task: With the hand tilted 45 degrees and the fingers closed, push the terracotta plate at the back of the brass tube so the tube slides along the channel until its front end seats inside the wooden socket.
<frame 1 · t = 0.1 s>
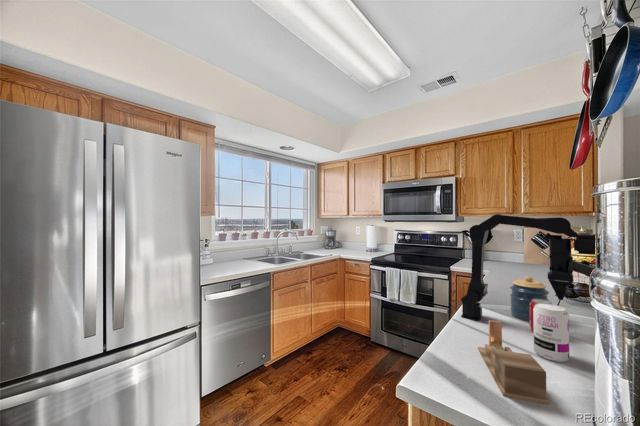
hand: (561, 296, 91), 15 cm above the table, tool pointing down, fingers open, 9 cm apart
supplement can: (551, 356, 80), on the table
slip tube: (501, 344, 75), point 6 cm above the table, slide at 0.0 cm
soda can: (542, 334, 95), on the table
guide: (502, 365, 75), on the table
canister: (529, 317, 110), on the table
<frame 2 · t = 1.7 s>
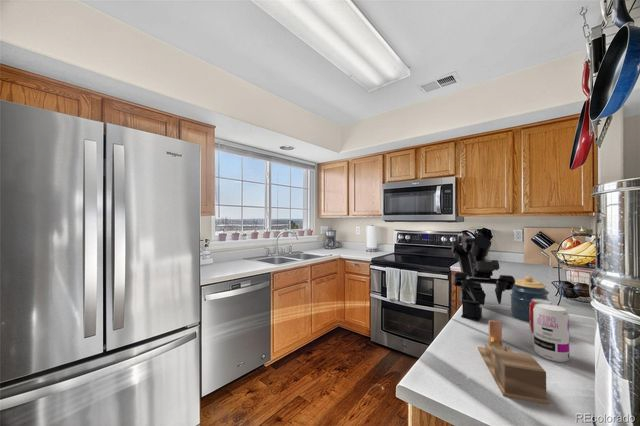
hand: (487, 302, 89), 14 cm above the table, tool tilted 45°, fingers open, 7 cm apart
nothing on the table moved.
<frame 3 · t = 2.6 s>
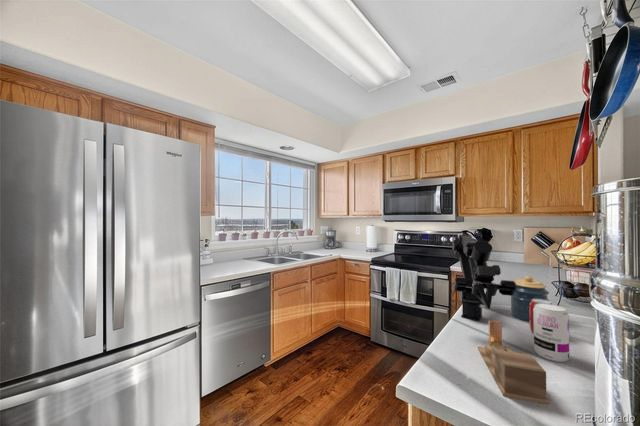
hand: (488, 308, 87), 12 cm above the table, tool tilted 45°, fingers closed
nothing on the table moved.
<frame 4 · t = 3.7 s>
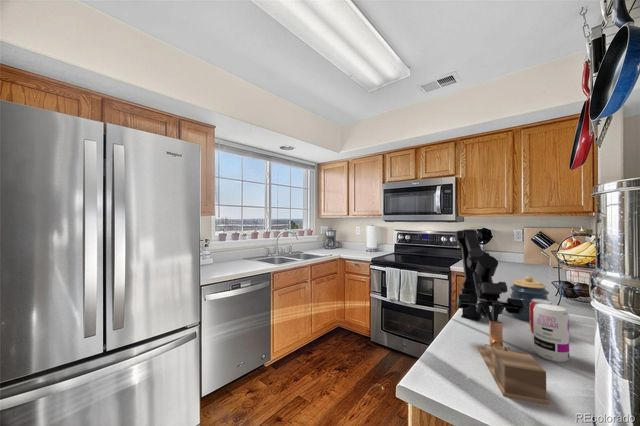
hand: (494, 328, 81), 8 cm above the table, tool tilted 45°, fingers closed, pressing on slip tube
slip tube: (502, 345, 75), point 6 cm above the table, slide at 0.7 cm, touching gripper
everything else where it was.
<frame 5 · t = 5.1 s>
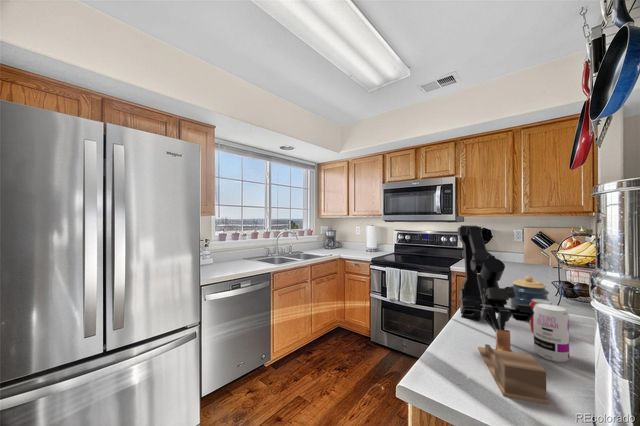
hand: (501, 337, 75), 8 cm above the table, tool tilted 45°, fingers closed
slip tube: (511, 356, 69), point 6 cm above the table, slide at 6.9 cm
everything else where it was.
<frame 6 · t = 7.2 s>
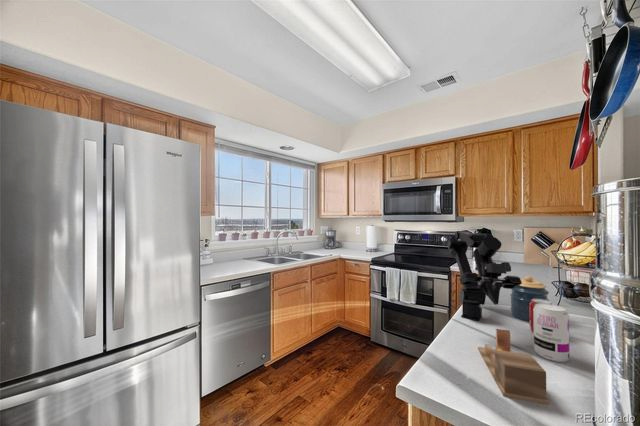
hand: (496, 304, 89), 13 cm above the table, tool tilted 35°, fingers closed
nothing on the table moved.
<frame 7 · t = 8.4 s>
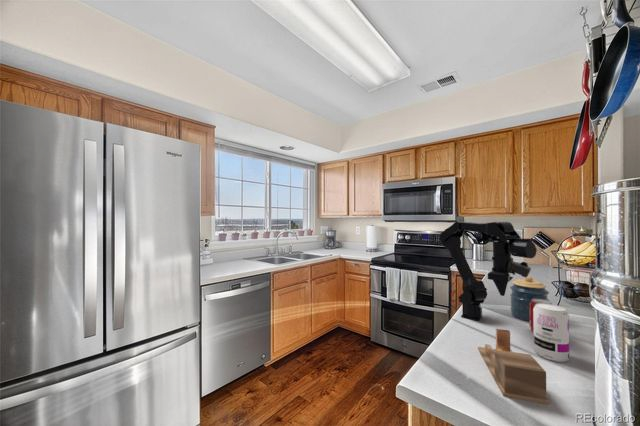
hand: (502, 295, 98), 13 cm above the table, tool pointing down, fingers closed
nothing on the table moved.
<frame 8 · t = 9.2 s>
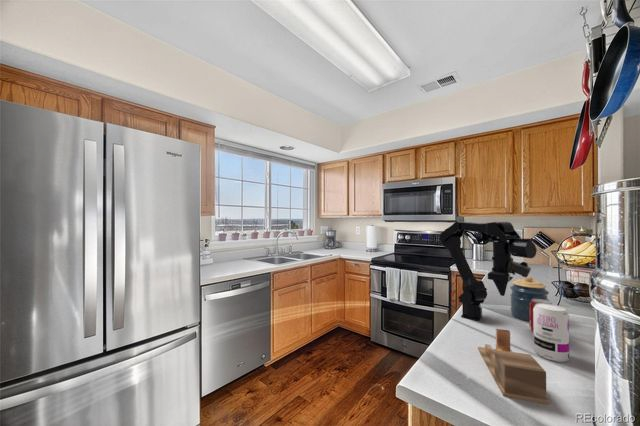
hand: (502, 295, 98), 13 cm above the table, tool pointing down, fingers closed
nothing on the table moved.
at the end: slip tube slide at 6.9 cm; slip tube touching nothing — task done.
